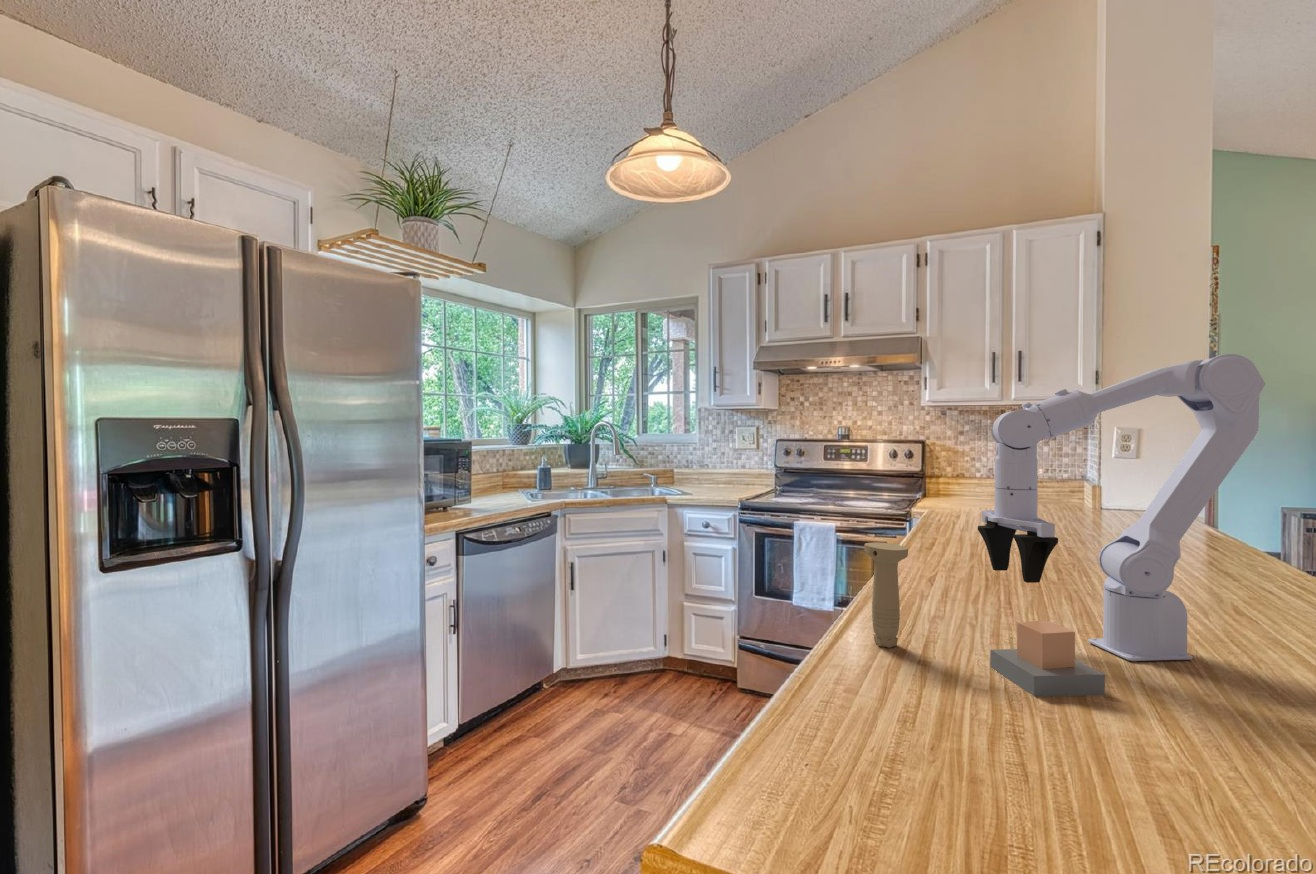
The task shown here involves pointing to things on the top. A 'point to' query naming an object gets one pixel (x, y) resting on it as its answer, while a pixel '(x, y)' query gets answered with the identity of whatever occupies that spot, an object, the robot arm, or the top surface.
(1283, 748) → the top surface
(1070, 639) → the terracotta block
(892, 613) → the handle
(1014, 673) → the plate
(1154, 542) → the robot arm
